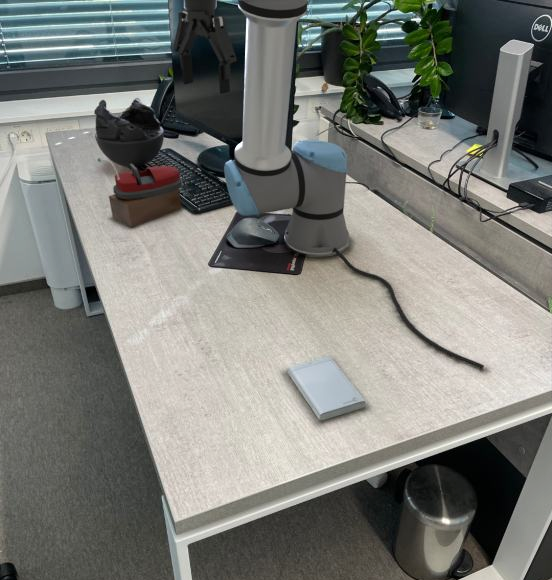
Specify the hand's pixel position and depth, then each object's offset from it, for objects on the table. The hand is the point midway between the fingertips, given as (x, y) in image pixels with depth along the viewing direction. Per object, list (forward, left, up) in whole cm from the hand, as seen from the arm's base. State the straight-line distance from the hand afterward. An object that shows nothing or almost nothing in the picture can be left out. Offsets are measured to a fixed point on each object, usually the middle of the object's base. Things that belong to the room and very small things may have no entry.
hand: (206, 88), depth 146 cm
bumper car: (+1, +22, -21) cm, 31 cm away
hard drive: (-76, +44, -27) cm, 92 cm away
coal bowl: (+31, +4, -27) cm, 41 cm away
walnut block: (+1, +22, -27) cm, 35 cm away
